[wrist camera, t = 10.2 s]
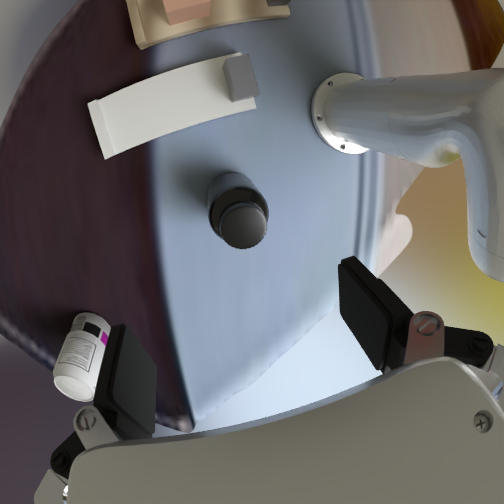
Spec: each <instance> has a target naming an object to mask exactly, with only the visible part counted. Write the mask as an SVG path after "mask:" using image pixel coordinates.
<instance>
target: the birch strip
mask: <svg viewBox="0 0 504 504" xmlns="http://www.w3.org/2000/svg"><path fill="white" fill-rule="evenodd" d="M290 1H291V0H211V6H210V15H209V16H206V17H202V18H198V19H193V20H190V21H186V22H182V23H179V24H175V25H172V26H170V23H169V20H168V17H167V14H166V10H165V7H164V3H163V0H126V2H127V6H128V11H129V15H130V20H131V24H132V28H133V32H134V37H135V41H136V45H137V46H138V47H139V48H140V49H141V50H142V49H145V48H147V47H150V46H153V45H156V44H159V43H162V42H165V41H168V40H171V39H174V38H177V37H181V36H184V35H188V34H191V33H195V32H199V31H203V30H207V29H212V28H216V27H221V26H226V25H232V24H237V23H243V22H250V21H257V20H266V19H276V18H287V17H288V16H289V15H290V14H291V13H290V10H289V7H288V3H289V2H290Z"/></svg>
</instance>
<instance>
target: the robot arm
mask: <svg viewBox="0 0 504 504" xmlns="http://www.w3.org/2000/svg"><path fill="white" fill-rule="evenodd" d="M328 83H329V86H328ZM311 114H312V120H313V123H314V126H315V129H316V130H317V132H318V134H319V136H320V137H321V138H322V139H323V141H324V142H325V143H326V144H328V145H329V146H330V147H332V148H333V149H335V150H337V151H340V152H342V153H347V154H360V153H364V152H366V151H368V150H370V149H371V150H375V151H378V152H381V153H385V154H388V155H391V156H395V157H398V158H401V159H404V160H407V161H410V162H414V163H416V164H419V165H422V166H426V167H432V168H437V167H443V166H446V165H449V164H451V163H452V162H454V161H456V160H457V159H458V158H460V157H461V159H462V161H463V165H464V171H465V181H466V188H467V210H468V211H467V213H468V244H469V249H470V253H471V256H472V259H473V260H474V262H475V264H476V265H477V267H478V268H479V269H480V270H481V271H482V272H483V273H485V274H486V275H487V276H489V277H490V278H492V279H495V280H497V281H500V282H503V283H504V68H490V69H482V70H475V71H468V72H460V73H451V74H438V75H414V76H399V77H387V78H377V79H368V80H367V79H366V78H364V77H362V76H360V75H357V74H354V73H339V74H335V75H332V76H330V77H328V78H326V79H325V80H324V81H323V82H322V83H321V84H320V85H319V86H318V88H317V89H316V91H315V93H314V96H313V100H312V104H311ZM317 116H318V117H319V119H317ZM340 145H341V148H340ZM338 278H339V302H340V314H341V316H342V318H343V320H344V321H345V323H346V324H347V326H348V327H349V329H350V330H351V331H352V333H353V335H354V336H355V338H356V339H357V341H358V342H359V344H360V345H361V347H362V348H363V350H364V351H365V353H366V355H367V356H368V358H369V359H370V361H371V362H372V364H373V366H374V367H375V369H376V370H381V372H382V373H383V374H382V375H380V376H378V377H376V378H374V379H371V380H369V381H367V382H365V383H362V384H360V385H357V386H355V387H352V388H350V389H348V390H345V391H343V392H340V393H338V394H335V395H333V396H330V397H328V398H325V399H322V400H320V401H317V402H314V403H311V404H308V405H305V406H302V407H299V408H296V409H293V410H290V411H286V412H283V413H280V414H276V415H273V416H269V417H265V418H262V419H258V420H254V421H250V422H246V423H242V424H238V425H233V426H228V427H223V428H218V429H213V430H208V431H202V432H197V433H189V434H183V435H175V436H166V437H158V438H152V433H154V432H155V404H156V381H157V367H156V365H155V363H154V361H153V360H152V359H151V357H150V356H149V355H148V353H147V352H146V350H145V349H144V348H143V346H142V345H141V343H140V342H139V340H138V339H137V338H136V336H135V335H134V333H133V332H132V330H131V329H130V327H129V326H126V325H124V324H120V325H116V326H112V327H111V329H110V333H109V336H108V340H107V343H106V347H105V351H104V355H103V359H102V362H101V367H100V371H99V375H98V379H97V384H96V388H95V393H94V398H93V401H94V405H93V406H85V407H82V408H81V409H80V410H79V411H78V412H77V413H76V415H75V417H74V428H75V432H73V433H72V434H71V435H70V436H69V437H68V438H67V439H66V440H65V441H64V442H63V443H62V444H61V445H60V446H59V447H58V448H57V449H56V450H55V451H54V452H53V453H52V456H51V467H52V470H50V469H48V471H47V473H46V475H45V477H44V478H43V480H42V482H41V484H40V486H39V488H38V489H37V491H36V493H35V496H34V502H35V504H504V346H502V345H500V344H498V345H497V346H495V345H493V341H492V340H491V338H490V337H489V336H488V335H487V334H485V333H484V332H480V331H474V330H467V329H461V328H454V327H448V326H444V322H443V320H442V318H441V317H440V316H439V315H438V314H436V313H434V312H429V311H422V312H418V313H416V314H415V315H414V314H413V312H412V311H411V310H410V309H409V308H408V307H407V306H406V305H405V304H404V303H403V302H402V301H401V300H400V299H399V297H398V296H397V295H396V294H395V293H394V292H393V291H392V290H391V289H390V288H389V287H388V286H387V285H386V284H385V283H384V282H383V281H382V280H381V279H378V278H376V277H375V276H374V275H373V274H372V273H371V272H370V271H369V270H368V269H367V268H366V267H365V266H364V265H363V264H362V263H361V262H360V261H359V260H358V259H357V258H356V257H355V256H351V257H348V258H345V259H342V260H341V264H339V265H338Z"/></svg>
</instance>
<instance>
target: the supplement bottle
mask: <svg viewBox="0 0 504 504" xmlns="http://www.w3.org/2000/svg"><path fill="white" fill-rule="evenodd" d="M207 207H208V218H209V222H210V226H211V228H212V230H213V231H214V232H215V234H216V235H217V236H219V237H220V238H221V239H223V240H225V242H226V243H228V245H231V246H232V247H235V248H239V249H247V248H251V247H254V246H255V245H257V244H258V243H259V242H260V241H261V240H262V239H263V238H264V235H265V234H266V231H267V221H268V217H269V210H268V205H267V202H266V200H265V199H264V197H263V196H262V194H261V193H260V192H259V190H258V189H257V188H256V187H255V185H254V184H253V183H252V182H251V181H250V180H249V179H248V178H247V177H246V176H244V175H242V174H239V173H225V174H223V175H220V176H219V177H217V178H216V179H215V180H214V181H213V182H212V183H211V185H210V187H209V189H208V192H207Z"/></svg>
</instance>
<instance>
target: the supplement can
mask: <svg viewBox="0 0 504 504" xmlns="http://www.w3.org/2000/svg"><path fill="white" fill-rule="evenodd" d="M110 329H111V327H110V326H109V325H108V323H107V322H106V321H105V320H104V319H103V318H101V317H100V316H98V315H96V314H94V313H86V312H85V313H80V314H78V315H77V316H76V317H75V319H74V321H73V323H72V325H71V328H70V330H69V332H68V335H67V337H66V339H65V342H64V344H63V347H62V349H61V352H60V354H59V357H58V359H57V362H56V365H55V367H54V370H53V375H54V383H55V385H56V387H57V388H58V389H59V390H60V391H61V392H62V393H63V394H65V395H67V396H68V397H70V398H73V399H75V400H78V401H90V400H92V399H93V398H94V393H95V388H96V384H97V379H98V375H99V371H100V367H101V362H102V359H103V355H104V351H105V347H106V343H107V340H108V336H109V333H110Z"/></svg>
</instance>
